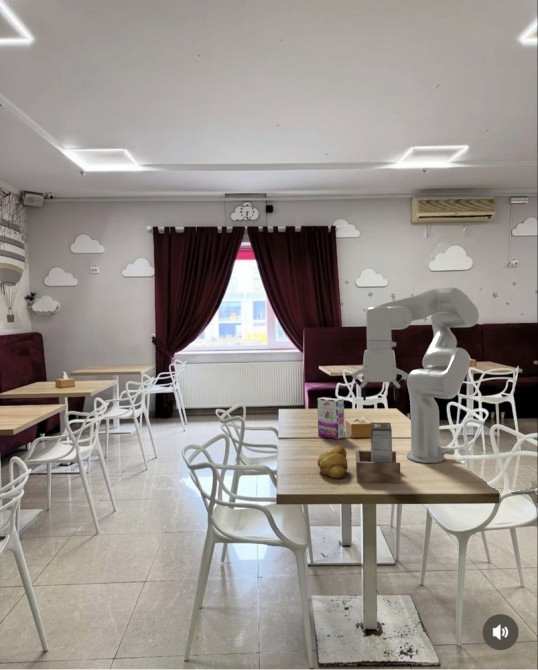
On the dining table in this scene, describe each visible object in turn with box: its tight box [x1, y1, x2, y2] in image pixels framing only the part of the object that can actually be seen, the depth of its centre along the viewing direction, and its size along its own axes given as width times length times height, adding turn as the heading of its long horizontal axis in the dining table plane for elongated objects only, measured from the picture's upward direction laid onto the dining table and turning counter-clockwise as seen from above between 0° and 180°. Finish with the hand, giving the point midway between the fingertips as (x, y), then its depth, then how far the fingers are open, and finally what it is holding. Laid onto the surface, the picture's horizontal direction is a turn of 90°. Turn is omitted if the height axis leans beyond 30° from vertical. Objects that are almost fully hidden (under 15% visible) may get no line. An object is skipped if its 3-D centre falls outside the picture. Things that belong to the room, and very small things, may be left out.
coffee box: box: [370, 422, 393, 462], centre depth 141 cm, size 9×6×16 cm
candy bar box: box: [317, 396, 346, 440], centre depth 190 cm, size 11×5×16 cm, turn 42°
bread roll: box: [317, 445, 349, 479], centre depth 144 cm, size 13×10×8 cm
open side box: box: [355, 449, 401, 484], centre depth 141 cm, size 13×13×6 cm
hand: (380, 399), depth 141 cm, fingers open, 9 cm apart
